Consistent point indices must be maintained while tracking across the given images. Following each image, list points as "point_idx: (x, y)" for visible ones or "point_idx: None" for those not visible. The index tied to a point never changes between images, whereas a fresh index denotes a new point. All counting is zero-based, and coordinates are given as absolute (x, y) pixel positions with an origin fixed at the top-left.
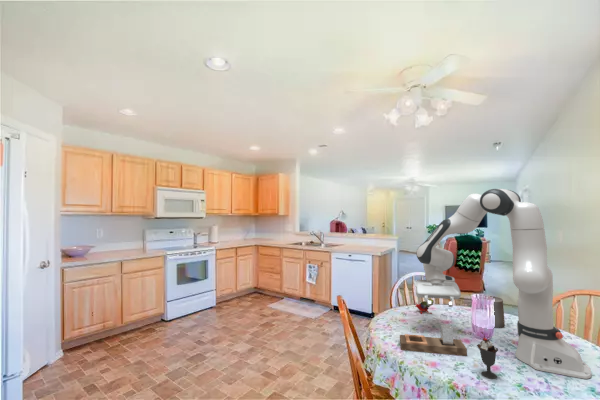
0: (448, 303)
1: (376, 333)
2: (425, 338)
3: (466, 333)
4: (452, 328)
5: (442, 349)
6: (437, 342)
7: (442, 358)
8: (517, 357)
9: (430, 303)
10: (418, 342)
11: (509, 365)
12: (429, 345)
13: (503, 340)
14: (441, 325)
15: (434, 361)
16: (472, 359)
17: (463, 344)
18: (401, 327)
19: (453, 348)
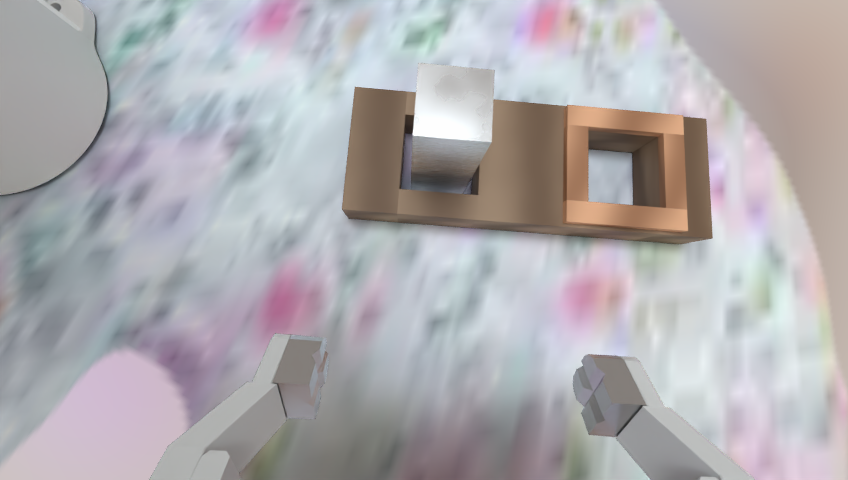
0: (315, 405)
1: (816, 341)
2: (559, 200)
3: None
4: (418, 68)
5: None
6: (498, 151)
7: None
8: (103, 105)
9: (605, 361)
10: (616, 117)
11: (194, 41)
12: (553, 108)
13: (35, 339)
14: (489, 122)
15: (534, 44)
16: (346, 79)
17: (351, 141)
18: None
19: None
